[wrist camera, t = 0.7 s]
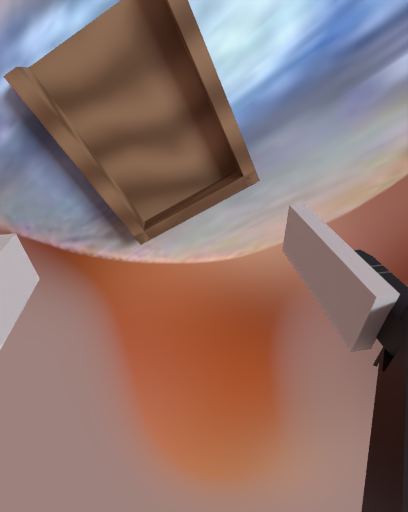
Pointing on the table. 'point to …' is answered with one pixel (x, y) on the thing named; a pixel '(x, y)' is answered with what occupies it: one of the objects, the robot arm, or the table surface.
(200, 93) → the tray
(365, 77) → the table surface
